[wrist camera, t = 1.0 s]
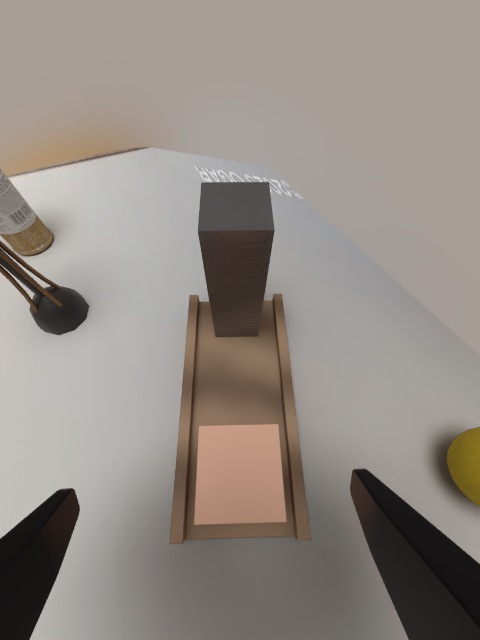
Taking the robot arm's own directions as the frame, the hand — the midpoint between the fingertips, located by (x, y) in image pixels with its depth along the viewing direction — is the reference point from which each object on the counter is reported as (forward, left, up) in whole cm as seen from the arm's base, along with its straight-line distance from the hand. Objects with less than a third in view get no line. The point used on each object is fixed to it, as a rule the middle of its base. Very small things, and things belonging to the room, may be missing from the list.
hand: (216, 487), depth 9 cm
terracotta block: (0, -1, -13) cm, 13 cm away
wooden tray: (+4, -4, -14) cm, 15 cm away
